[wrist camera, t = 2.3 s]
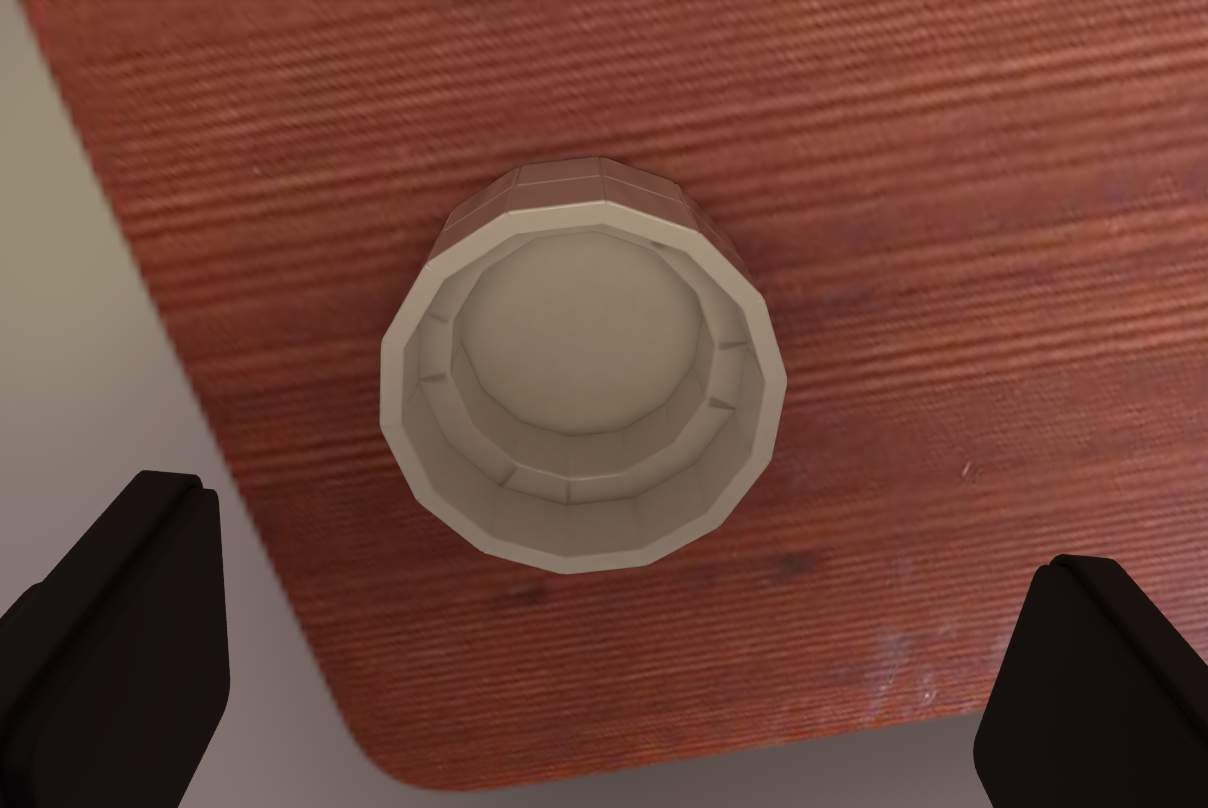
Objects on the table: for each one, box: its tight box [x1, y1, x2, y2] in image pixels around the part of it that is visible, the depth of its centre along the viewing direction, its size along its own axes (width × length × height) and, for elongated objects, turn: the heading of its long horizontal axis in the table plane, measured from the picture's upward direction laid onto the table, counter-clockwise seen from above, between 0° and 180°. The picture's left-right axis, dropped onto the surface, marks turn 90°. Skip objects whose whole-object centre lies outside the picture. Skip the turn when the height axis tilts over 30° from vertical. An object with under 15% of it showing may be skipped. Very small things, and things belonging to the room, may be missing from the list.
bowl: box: [379, 157, 788, 575], centre depth 19 cm, size 7×7×4 cm
